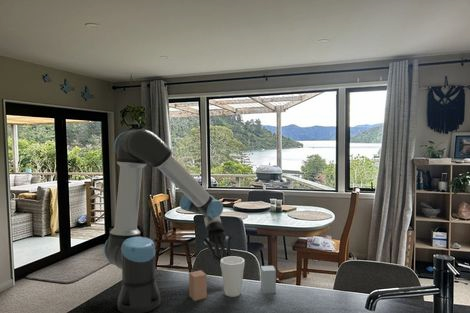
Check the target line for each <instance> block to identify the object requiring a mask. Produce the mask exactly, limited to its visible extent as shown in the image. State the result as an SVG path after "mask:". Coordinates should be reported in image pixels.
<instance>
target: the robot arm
mask: <svg viewBox="0 0 470 313" xmlns="http://www.w3.org/2000/svg"><path fill="white" fill-rule="evenodd" d="M113 147H114V151H115V154H116V163H117V165H118V166H119V175H118V176H119V178H118V185H117V195H116V196H117V197H116V206H115V207H116V210H115V217H114V227H113V228H112V229H111V230H109V236H108V238H107V240H106V241H105V243H104V246H103V254H104V255H105V258H106V259H107V260H108V262H109V263H111V264H112V265H114V266H116V267H118V268H119V269H120V270H121V274H122V275H121V276H122V277H121V278H122V279H121V280H122V281H121V283H122V286H121V288H120V292H119V296H118V298H117V310H118V311H119V312H120V313H147V312H151V311H153V310H155V309H156V308H158V307H159V306H160V304H161V300H162V299H161V293H160V290H159V287H158V285H157V282H156V246H155V243H154V240H152V239H151V238H149V237H146V236H145V237H143V236H141V231H140V229H138V219H139V209H140V198H141V186H142V179H143V178H142V176H143V169H144V168H145V167H146V166H147V164H149V165H150V166H151V167H152V168H154V169H158V170H159V171H160V172H161V173H162V174H163V175H164V176H165V177H166V178H167V179H168V180H169V181H170V182H171V183H172V184H173V185H174V186H175V187H176V188H177V189H178V190H180V192H181V193H182V194H183V195H182V196H181V198H180V200H179V208H180V209H181V210H183V211H186V212H191V213H194V214H199V215H202V216H203V217H202V218H203V221H204V225H205V229H206V233H207V237H206V238H204V240H203V245H204V246H206V249H207V250H208V252H209V254H210V256H211V258H212V260H213V261H216V262H217V263H218V267H219V268H220V269H221V267H220V260H221V259H222V258H224V257H229V256H231V239H232V236H230V235H229V236H228V235H226V233H225V230H224V226H223V223H222V219H221V217H220V216H221V214H222V213H223V212H224V205H223V203H222V201H220V200H219V199H216V198H215V197H214V196H213V195H211V194H209V192H207V190H206V189H205V187H203V186H202V185H201V184H200V182H198V181H197V179H196V178H195V177H194V176H193V175H192V174H191V173H190V172H189V171H188V169H186V168H185V167H184V165H183V164H182V163H180V161H179V160H178V159H177V158H176V157H175V156H174V155H173V150H172V149H171V148H170V147H169V146H168V144H167V143H166V142H165V141H164V140H163V139H161V137H159V135H157V134H156V133H154V131H153V132H152V131H151V130H148V129H145V128H144V129H143V128H139V129H129V130H126V131H123V132H121V133H120V134H119V135H117V136H116V139H115V141H114V144H113ZM225 241H226V243H224V242H225ZM224 244H226V245H224ZM212 245H213V246H212ZM225 246H226V248H225Z"/></svg>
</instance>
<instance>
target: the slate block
mask: <svg viewBox="0 0 470 313" xmlns="http://www.w3.org/2000/svg"><path fill="white" fill-rule="evenodd" d="M276 272H277V271H276V268H275V266H274V265H261V266H260V289H261V291H262V294H276V293H277V286H276V284H277V281H276V280H277V278H276V277H277V276H276V275H277V274H276Z"/></svg>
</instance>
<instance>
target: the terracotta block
mask: <svg viewBox="0 0 470 313" xmlns="http://www.w3.org/2000/svg"><path fill="white" fill-rule="evenodd" d="M188 280H189V281H188V284H189V287H188V288H189V289H188V290H189V294H188V295H189V297H190V298H191V299H192V300H193V301H194V302H196V301H199V300H200V301H201V300H204V299H206V298H208V297H207V294H208V292H207V290H208V289H207V286H208V285H207V273H205V272H204V271H203V270H201V269H200V270H195V271H191V272H188Z"/></svg>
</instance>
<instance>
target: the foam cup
mask: <svg viewBox="0 0 470 313" xmlns="http://www.w3.org/2000/svg"><path fill="white" fill-rule="evenodd" d="M245 262H246V261H245V259H244V258H243V257H240V256H236V255H235V256H231V255H230V256H229V257H224V258H223V257H221V260H220V267H221V268H220V267H219V268H220V269H221V278H222V283H223V292H224V295H225V296H227V297H232V298H233V297H234V298H235V297H238V296H240V295H241V294H242V293H241V292H242V286H243V278H244V270H245V267H246V266H245Z"/></svg>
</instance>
